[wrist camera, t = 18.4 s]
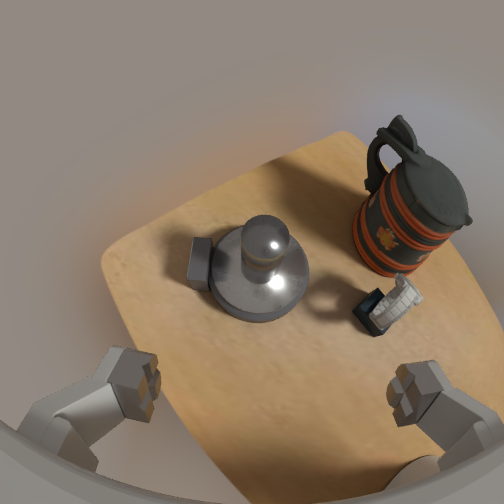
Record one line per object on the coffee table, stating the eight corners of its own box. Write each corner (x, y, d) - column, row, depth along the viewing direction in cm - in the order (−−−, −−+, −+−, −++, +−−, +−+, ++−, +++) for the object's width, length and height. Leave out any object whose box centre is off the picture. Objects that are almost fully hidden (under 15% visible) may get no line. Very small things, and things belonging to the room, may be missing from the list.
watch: (397, 310, 39) (437, 290, 29) (366, 345, 36) (405, 335, 26) (376, 285, 40) (412, 259, 30) (343, 318, 38) (376, 300, 28)
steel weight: (277, 286, 36) (289, 260, 27) (238, 282, 35) (238, 256, 27) (279, 250, 38) (290, 216, 29) (242, 247, 38) (243, 212, 29)
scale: (303, 325, 38) (312, 320, 33) (187, 316, 37) (180, 309, 33) (304, 237, 43) (311, 221, 38) (201, 228, 43) (196, 211, 38)
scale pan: (303, 316, 35) (305, 315, 34) (207, 309, 35) (206, 308, 34) (304, 231, 40) (305, 228, 39) (218, 223, 40) (218, 220, 39)
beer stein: (316, 211, 45) (355, 122, 27) (365, 176, 49) (407, 98, 31) (391, 296, 40) (474, 244, 21) (431, 246, 44) (498, 188, 25)
